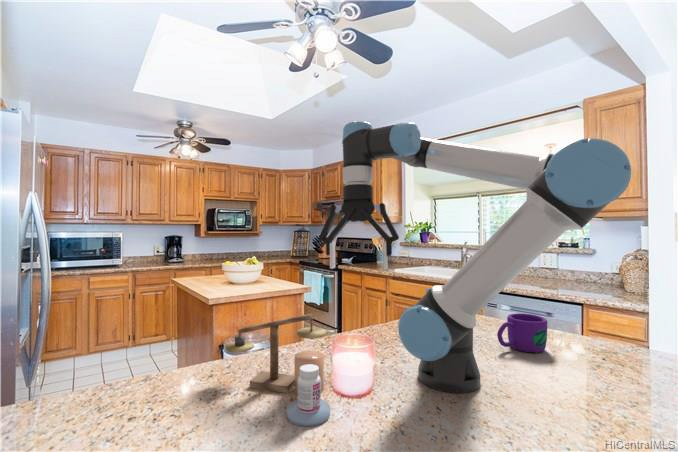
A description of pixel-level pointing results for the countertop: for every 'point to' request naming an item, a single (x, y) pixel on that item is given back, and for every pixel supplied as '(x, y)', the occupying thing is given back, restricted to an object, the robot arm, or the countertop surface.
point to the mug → (525, 332)
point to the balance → (274, 352)
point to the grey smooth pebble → (308, 415)
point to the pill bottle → (309, 389)
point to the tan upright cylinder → (309, 358)
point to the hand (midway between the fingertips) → (358, 268)
